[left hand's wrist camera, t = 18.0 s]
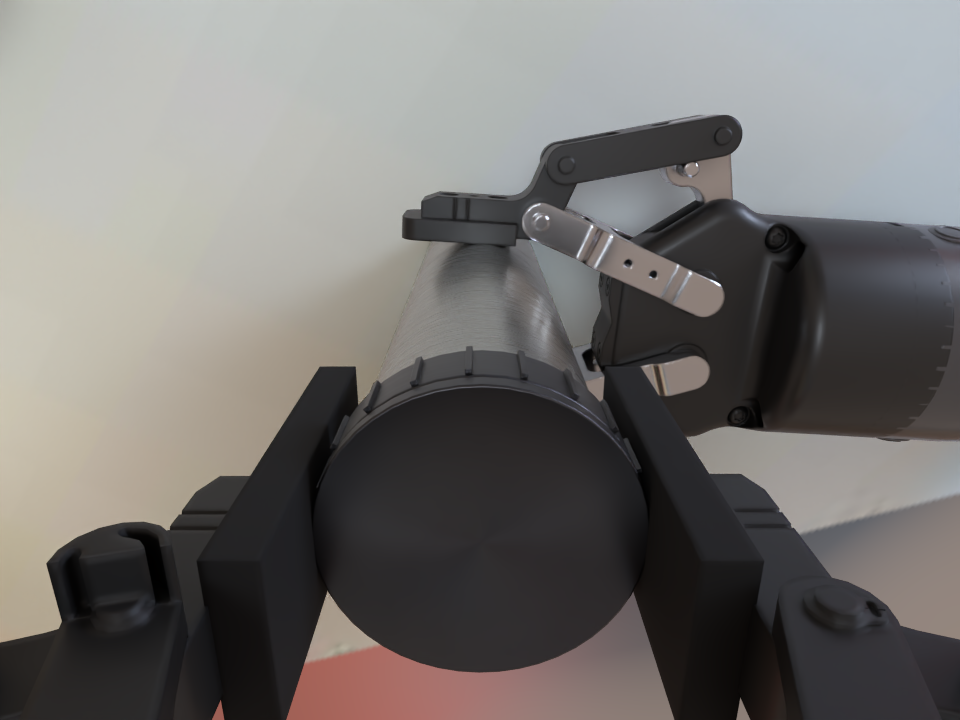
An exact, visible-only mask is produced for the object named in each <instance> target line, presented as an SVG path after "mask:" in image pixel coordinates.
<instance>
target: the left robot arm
mask: <svg viewBox="0 0 960 720" xmlns="http://www.w3.org/2000/svg"><path fill="white" fill-rule="evenodd" d="M603 399H604V400H605V401H606V402H607V404H608V406H609V408H610V410H611V413H612V415H613V417H614V420H615V422H616V424H617V426H618V429H619V432H620V434H621V436H622V438H623V439H625V438H628V440H629V442H630V444H631V447H632V449H633V451H634V453H635V455H636V458H637V460H638V462H639V464H640V466H641V469H642V471H643V473H641V474H639V477H640V479H641V481H642V484H643V486H644V490H645V494H646V497H647V501H648V505H649V528H648V538H647V547H646V557H645V565H644V568H643V571H642V574H641V577H640V579H639V581H638V583H637V585H636V587H635V589H634V591H633V592H634V595H635V598H636V601H637V604H638V607H639V610H640V613H641V617H642V620H643V623H644V626H645V629H646V632H647V635H648V638H649V642H650V645H651V648H652V651H653V654H654V657H655V660H656V663H657V667H658V670H659V673H660V676H661V679H662V682H663V685H664V688H665V692H666V695H667V698H668V701H669V704H670V707H671V710H672V713H673V716H674V720H736V718H737V713H738V707H739V701H740V697H741V700H742V702H743V704H744V706H745V709H746V711H747V713H748V715H749V718H750V720H960V640H959V639H954V638H949V637H945V636H940V635H935V634H931V633H926V632H922V631H917V630H914V629H910V628H907V627H903V626H900V624H899V622H898V620H897V619H896V617H895V616H894V614H893V613H892V612H891V610H890V609H889V608H888V606H887V605H886V604H884V603H883V602H882V601H880V600H879V599H878V598H876V597H875V596H874V595H872V594H871V593H870V592H868V591H866V590H864V589H862V588H860V587H857V586H855V585H853V584H851V583H849V582H846V581H842V580H838V579H834V578H832V577H831V576H830V575H829V573H828V572H827V571H826V569H825V568H824V567H823V566H822V564H821V563H820V562H819V560H818V559H817V558H816V556H815V555H814V554H813V552H812V551H811V550H810V548H809V547H808V546H807V545H806V543H805V542H804V541H803V539H802V538H801V537H800V535H799V534H798V533H797V531H796V530H795V529H794V528H791V523H790V522H789V521H788V519H787V518H786V517H785V516H784V514H783V513H782V512H779V508H778V506H777V505H776V504H775V502H774V501H773V500H772V498H771V497H770V496H769V494H768V493H767V492H766V491H765V490H764V489H763V488H761V487H760V486H758V485H757V484H755V483H754V482H752V481H751V480H749V479H748V478H746V477H745V476H743V475H742V474H709V473H708V471H707V470H706V468H705V467H704V465H703V464H702V462H701V460H700V459H699V457H698V456H697V454H696V453H695V451H694V449H693V448H692V446H691V445H690V443H689V442H688V440H687V438H686V437H685V435H684V434H683V432H682V431H681V429H680V428H679V426H678V424H677V423H676V421H675V420H674V418H673V417H672V415H671V413H670V412H669V410H668V409H667V407H666V406H665V404H664V402H663V401H662V399H661V398H660V396H659V395H658V393H657V391H656V390H655V388H654V387H653V385H652V384H651V382H650V380H649V379H648V377H647V376H646V374H645V373H644V371H643V369H642V368H641V367H605V376H604V390H603ZM357 406H358V395H357V380H356V367H319V369H318V371H317V372H316V374H315V375H314V377H313V378H312V380H311V382H310V383H309V385H308V386H307V388H306V389H305V391H304V393H303V394H302V396H301V397H300V399H299V400H298V402H297V403H296V405H295V407H294V408H293V410H292V411H291V413H290V414H289V416H288V418H287V419H286V421H285V422H284V424H283V425H282V427H281V429H280V430H279V432H278V433H277V435H276V436H275V438H274V440H273V441H272V443H271V444H270V446H269V447H268V449H267V451H266V452H265V454H264V455H263V457H262V458H261V460H260V462H259V463H258V465H257V466H256V468H255V469H254V471H253V473H252V474H251V476H220V477H218V478H217V479H215V480H214V481H212V482H211V483H209V484H208V485H206V486H205V487H203V488H201V489H200V490H198V491H197V492H196V493H195V494H194V495H193V497H192V498H191V499H190V501H189V502H188V503H187V505H186V506H185V507H184V509H183V510H182V515H178V517H177V518H176V519H175V521H174V522H173V523H172V525H171V526H170V530H167V531H166V530H165V529H164V528H163V527H161V526H160V525H155V524H151V523H146V522H128V523H119V524H115V525H111V526H106V527H102V528H98V529H96V530H94V531H91V532H89V533H86V534H84V535H82V536H79V537H77V538H75V539H74V540H72V541H71V542H69V543H68V544H66V545H65V546H63V547H62V548H60V549H59V550H58V551H57V552H56V553H55V554H54V555H53V556H52V558H51V559H50V560H49V561H48V562H47V563H46V564H47V568H48V572H49V575H50V579H51V583H52V586H53V590H54V594H55V597H56V601H57V605H58V608H59V612H60V616H61V619H62V623H61V625H60V627H59V629H57V630H54V631H50V632H47V633H43V634H38V635H34V636H29V637H24V638H20V639H15V640H11V641H6V642H2V643H0V720H212V718H213V716H214V714H215V711H216V709H217V707H218V704H219V702H220V700H221V703H222V709H223V714H224V720H286V719H287V715H288V712H289V709H290V706H291V703H292V700H293V697H294V694H295V690H296V687H297V684H298V681H299V678H300V675H301V672H302V669H303V666H304V662H305V659H306V656H307V653H308V650H309V647H310V644H311V641H312V637H313V634H314V631H315V628H316V625H317V622H318V619H319V616H320V613H321V609H322V606H323V603H324V600H325V597H326V594H327V591H328V590H327V588H326V586H325V584H324V582H323V580H322V578H321V576H320V573H319V570H318V567H317V564H316V559H315V550H314V541H313V530H312V510H313V503H314V499H315V495H316V492H317V490H316V487H317V485H318V482H319V480H320V478H321V476H322V473H323V471H324V469H325V466H326V464H327V462H328V460H329V457H330V456H331V455H332V453H333V450H332V449H330V447H331V444H332V442H333V440H334V438H335V435H336V433H337V431H338V429H339V427H340V424H341V422H342V420H343V418H344V417H345V415H347V416H349V417H350V416H351V415H352V413H353V412H354V410H355V409H356V407H357Z"/></svg>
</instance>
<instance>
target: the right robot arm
mask: <svg viewBox="0 0 960 720" xmlns="http://www.w3.org/2000/svg"><path fill="white" fill-rule="evenodd" d="M741 139H742V128H741V125H740V123H739V122H738V121H737V120H736V119H735V118H734V117H732V116H729V115H696V116H691V117H686V118H680V119H675V120H670V121H664V122H659V123H654V124H648V125H643V126H638V127H632V128H627V129H622V130H616V131H611V132H606V133H600V134H595V135H590V136H584V137H579V138H574V139H568V140H563V141H558V142H553V143H551V144H549V145H548V146H546V147H545V148H544V150H543V151H542V154H541V157H540V164H539V166H538V168H537V170H536V173H535V175H534V177H533V179H532V181H531V183H530V185H529V186H528V188H527V189H526V190H525V191H523V192H522V193H520V194H517V195H513V196H503V195H488V194H472V193H456V192H441V191H440V192H437V193H434V194H431V195H428V196H425V197H424V199H423V200H422V201H421V210H419V209H413V210H407V211H406V212H405V213H404V215H403V222H402V238H404V239H409V240H418V241H434V242H450V243H466V244H487V245H497V246H513V247H516V239H525V240H534V241H537V242H539V243H541V244H543V245H546V246H548V247H550V248H553V249H555V250H557V251H559V252H562V253H564V254H566V255H568V256H571V257H573V258H575V259H577V260H579V261H581V262H583V263H584V264H586V265H587V266H589V267H591V268H593V269H595V270H597V271H599V272H600V278H599V292H600V299H601V310H600V312H599V315H598V317H597V320H596V322H595V325H594V327H593V334H592V341H591V343H590V344H586V345H582V346H579V347H575V348H572V349H573V352H574V354H575V357H576V359H577V362H578V364H579V367H580V369H581V372H582V375H583V377H584V380H585V382H586V385H587V387H588V390H589V391H590V392H591V393H592V394H593V395H594V396H595V397H596V398H597V399H598V400H599V401H601V400H603V390H604V376H605V367H641V368H642V369H643V371H644V373H645V374H646V376H647V377H648V379H649V380H650V382H651V384H652V385H653V387H654V388H655V390H656V391H657V393H658V395H659V396H660V398H661V399H662V401H663V402H664V404H665V406H666V407H667V409H668V410H669V412H670V413H671V415H672V417H673V418H674V420H675V421H676V423H677V424H678V426H679V428H680V429H681V431H682V432H683V434H684V435H685V437H686V438H687V437H691V436H697V435H700V434H702V433H705V432H707V431H709V430H712V429H716V428H720V427H727V426H731V427H739V428H745V429H750V430H757V431H766V432H785V433H803V434H821V435H839V436H856V437H873V438H878V439H882V440H886V441H895V442H900V441H908V440H927V441H960V227H952V226H935V225H919V224H902V223H889V222H874V221H858V220H842V219H826V218H811V217H795V216H779V215H764V214H758V213H755V212H753V211H752V210H750V209H749V208H748V207H746V206H745V205H744V204H742V203H740V202H738V201H735V200H733V195H732V173H731V153H733V152H734V151H735V150H736V149H737V148H738V146H739V144H740V142H741ZM653 169H659V172H660V175H661V177H662V178H663V179H664V180H665V181H666V182H668V183H671V184H674V185H677V186H680V187H690V188H691V189H692V190H693V192H694V193H695V196H696V200H695V201H694V202H692V203H690V204H689V205H687V206H685V207H684V208H682V209H680V210H679V211H677V212H675V213H674V214H672V215H670V216H669V217H667V218H665V219H664V220H662V221H660V222H659V223H657V224H655V225H654V226H652V227H650V228H649V229H647V230H645V231H644V232H642V233H641V234H639V235H637V236H636V237H634V236H632V235H630V234H627V233H625V232H623V231H621V230H619V229H616V228H614V227H612V226H610V225H608V224H605V223H603V222H601V221H599V220H597V219H594V218H592V217H589V216H586V215H583V214H581V213H579V212H577V211H575V210H572V209H570V208H568V207H566V206H567V204H568V202H569V199H570V197H571V195H572V193H573V191H574V189H575V187H576V185H577V183H582V182H588V181H593V180H599V179H604V178H610V177H615V176H620V175H626V174H631V173H637V172H642V171H648V170H653ZM594 359H596V360H594Z"/></svg>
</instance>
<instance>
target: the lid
mask: <svg viewBox="0 0 960 720" xmlns="http://www.w3.org/2000/svg"><path fill="white" fill-rule="evenodd" d="M330 449H332V450H333V453H332V455H331V456H330V457H329V460H328V462H327V464H326V466H325V469H324V471H323V473H322V476H321V478H320V480H319V482H318V485H317V487H316V490H317V492H316V495H315V499H314V503H313V510H312V530H313V541H314V550H315V559H316V564H317V567H318V570H319V573H320V576H321V578H322V580H323V582H324V584H325V586H326V588H327V590H328V592H329V594H330V595H331V597H332V598H333V600H334V601H335V602H336V604H337V605H338V607H339V608H340V609H341V611H342V612H343V613H344V614H345V615H346V616H347V617H348V618H349V620H350V621H351V622H352V623H353V624H354V625H356V626H357V627H358V628H359V629H360V630H361V631H363V632H364V633H365V634H366V635H367V636H369V637H370V638H372V639H373V640H375V641H376V642H378V643H379V644H380V645H382V646H383V647H385V648H387V649H389V650H391V651H393V652H395V653H397V654H399V655H401V656H403V657H406V658H409V659H411V660H414V661H416V662H419V663H422V664H426V665H430V666H433V667H437V668H442V669H448V670H454V671H463V672H500V671H507V670H514V669H520V668H524V667H528V666H532V665H536V664H540V663H542V662H545V661H548V660H550V659H553V658H556V657H558V656H560V655H562V654H564V653H566V652H568V651H570V650H572V649H574V648H576V647H578V646H579V645H581V644H582V643H584V642H585V641H587V640H588V639H590V638H591V637H593V636H594V635H595V634H596V633H598V632H599V631H600V630H601V629H602V628H604V627H605V626H606V625H607V624H608V623H609V622H610V621H611V620H612V619H613V618H614V617H615V616H616V615H617V613H618V612H619V611H620V610H621V609H622V607H623V606H624V604H625V603H626V602H627V600H628V599H629V598H630V596H631V594H632V593H633V591H634V589H635V587H636V585H637V583H638V581H639V579H640V577H641V574H642V571H643V568H644V565H645V557H646V547H647V538H648V528H649V505H648V501H647V497H646V494H645V490H644V486H643V484H642V481H641V479H640V477H639V474H641V473H643V471H642V469H641V466H640V464H639V462H638V460H637V458H636V455H635V453H634V451H633V449H632V447H631V444H630V442H629V440H628V438H625V439H623V438H622V436H621V434H620V432H619V429H618V426H617V424H616V422H615V420H614V417H613V415H612V413H611V410H610V408H609V406H608V404H607V402H606V401H605V400H604V399H603V400H601V401H599V400H598V399H597V398H596V397H595V396H594V395H593V394H592V393H591V392H590V391H589V390H588V389H586V388H585V387H584V386H583V385H582V384H581V383H580V382H578V381H577V380H575V379H574V378H573V375H572V372H571V371H570V370H568V369H567V368H566V369H565V370H564V372H563V371H561V370H559V369H557V368H555V367H553V366H551V365H549V364H547V363H545V362H542V361H539V360H536V359H533V358H530V357H527V356H525V352H524V351H521V350H518V353H517V354H513V353H508V352H503V351H489V350H474V351H473V346H466V351H459V352H454V353H448V354H442V355H438V356H435V357H432V358H429V359H425V360H423V358H422V356H420V357H418V358H416V360H415V363H414V364H413V365H411V366H409V367H406V368H404V369H402V370H400V371H399V372H397V373H396V374H394V375H392V376H391V377H389V378H388V379H386V380H384V381H383V382H382V383H380V382H379V381H378V380H377V381H376V382H375V383H373V385H372V388H371V390H370V393H369V394H368V395H367V396H366V397H365V399H364V400H363V401H362V402H361V403H360V404H359V405H358V406H357V407H356V409H355V410H354V412H353V413H352V415H351V416H350V417H349V416H347V415H345V417H344V418H343V420H342V422H341V424H340V427H339V429H338V431H337V433H336V435H335V438H334V440H333V442H332V444H331V447H330Z"/></svg>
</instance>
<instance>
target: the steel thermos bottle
mask: <svg viewBox="0 0 960 720" xmlns="http://www.w3.org/2000/svg"><path fill="white" fill-rule="evenodd" d="M466 346H473V351H474V350H489V351H503V352H508V353H513V354H517V353H518V350H521V351H524V352H525V356H527V357H530V358H533V359H536V360H539V361H542V362H545V363H547V364H549V365H551V366H553V367H555V368H557V369H559V370H561V371H563V372H564V370H565V369H566V368H567V369H568V370H570V371H571V372H572V375H573V378H574V379H575V380H577V381H578V382H580V383H581V384H582V385H583V386H584V387H585V388H586V389H588V387H587V385H586V382H585V380H584V377H583V375H582V372H581V369H580V367H579V364H578V362H577V359H576V357H575V354H574V352H573V349H572V347H571V344H570V342H569V339H568V337H567V334H566V332H565V329H564V327H563V324H562V321H561V319H560V316H559V314H558V311H557V309H556V306H555V304H554V301H553V299H552V296H551V294H550V291H549V289H548V286H547V284H546V281H545V278H544V276H543V273H542V271H541V268H540V266H539V263H538V261H537V258H536V256H535V253H534V251H533V248H532V246H531V244H530V242H529V240H525V239H516V247H513V246H497V245H487V244H466V243H450V242H434V241H431V243H430V245H429V247H428V250H427V252H426V255H425V257H424V260H423V263H422V265H421V268H420V270H419V273H418V275H417V278H416V280H415V283H414V286H413V288H412V291H411V293H410V296H409V298H408V301H407V303H406V306H405V308H404V311H403V314H402V316H401V319H400V321H399V324H398V326H397V329H396V331H395V334H394V337H393V339H392V342H391V344H390V347H389V349H388V352H387V354H386V357H385V359H384V362H383V365H382V367H381V370H380V372H379V375H378V377H377V380H378V381H379V382H380V383H382V382H383V381H384V380H386V379H388V378H389V377H391V376H392V375H394V374H396V373H397V372H399V371H400V370H402V369H404V368H406V367H409V366H411V365H413V364H414V363H415V360H416V358H418V357H420V356H422V358H423V360H425V359H429V358H432V357H435V356H438V355H442V354H448V353H454V352H459V351H466ZM377 380H376V381H377Z"/></svg>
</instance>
